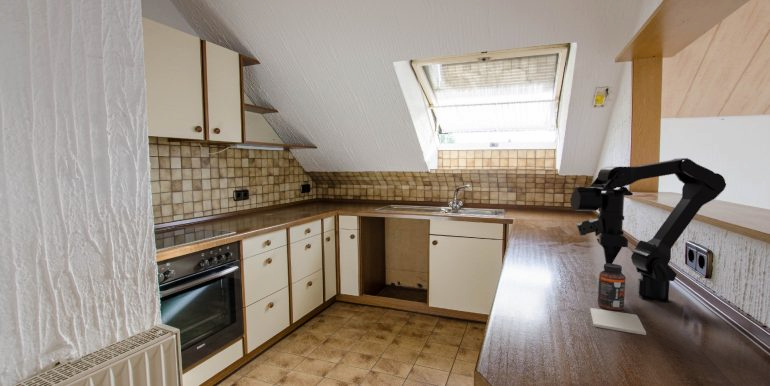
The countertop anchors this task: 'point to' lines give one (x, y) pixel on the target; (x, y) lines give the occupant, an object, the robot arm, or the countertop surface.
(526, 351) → the countertop surface
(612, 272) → the supplement bottle
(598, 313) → the mat
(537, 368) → the countertop surface
